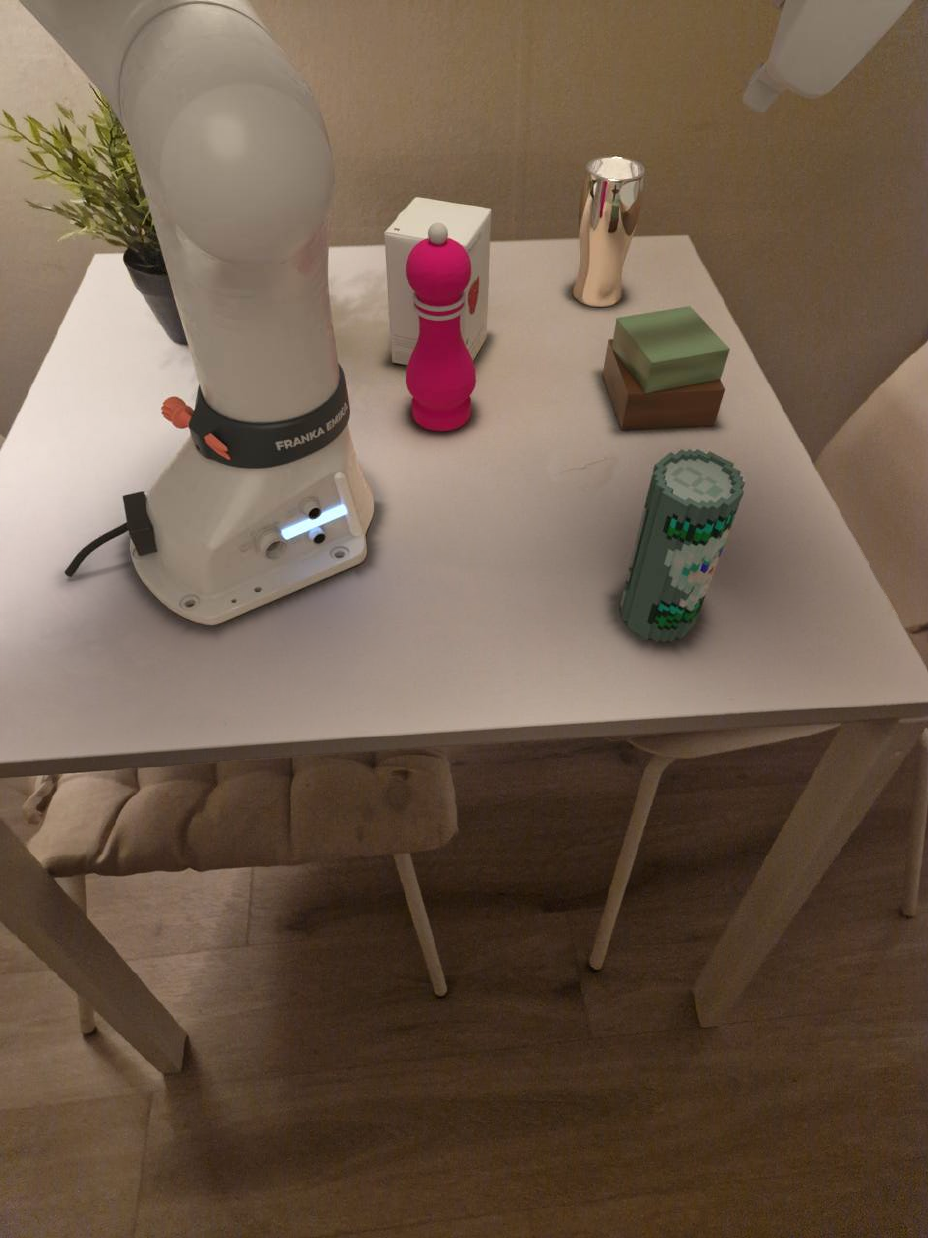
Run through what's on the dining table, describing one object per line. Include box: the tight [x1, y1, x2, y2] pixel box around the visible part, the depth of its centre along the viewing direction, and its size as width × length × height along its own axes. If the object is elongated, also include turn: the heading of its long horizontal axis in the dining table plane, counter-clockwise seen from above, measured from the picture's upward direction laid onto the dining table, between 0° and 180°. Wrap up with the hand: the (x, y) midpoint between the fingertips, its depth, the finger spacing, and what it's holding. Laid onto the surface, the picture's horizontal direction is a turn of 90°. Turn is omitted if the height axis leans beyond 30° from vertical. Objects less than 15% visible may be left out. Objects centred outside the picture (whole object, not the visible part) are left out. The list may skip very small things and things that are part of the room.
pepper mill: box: [405, 222, 477, 432], centre depth 77 cm, size 7×7×20 cm
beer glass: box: [572, 155, 646, 308], centre depth 95 cm, size 7×7×15 cm
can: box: [619, 448, 746, 644], centre depth 62 cm, size 6×6×15 cm
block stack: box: [602, 305, 731, 431], centre depth 84 cm, size 10×10×8 cm
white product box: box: [383, 196, 492, 366], centre depth 87 cm, size 9×9×15 cm
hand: (767, 50), depth 52 cm, fingers open, 8 cm apart
